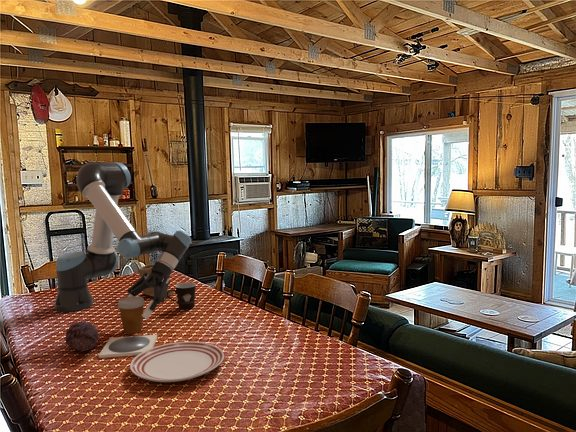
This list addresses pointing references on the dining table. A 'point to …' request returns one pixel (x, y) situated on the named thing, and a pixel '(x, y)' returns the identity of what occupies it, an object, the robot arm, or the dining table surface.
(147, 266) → the tan irregular lump
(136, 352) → the board
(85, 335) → the pine cone
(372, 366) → the dining table surface
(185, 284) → the coffee mug
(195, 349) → the dinner plate
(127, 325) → the disposable coffee cup
